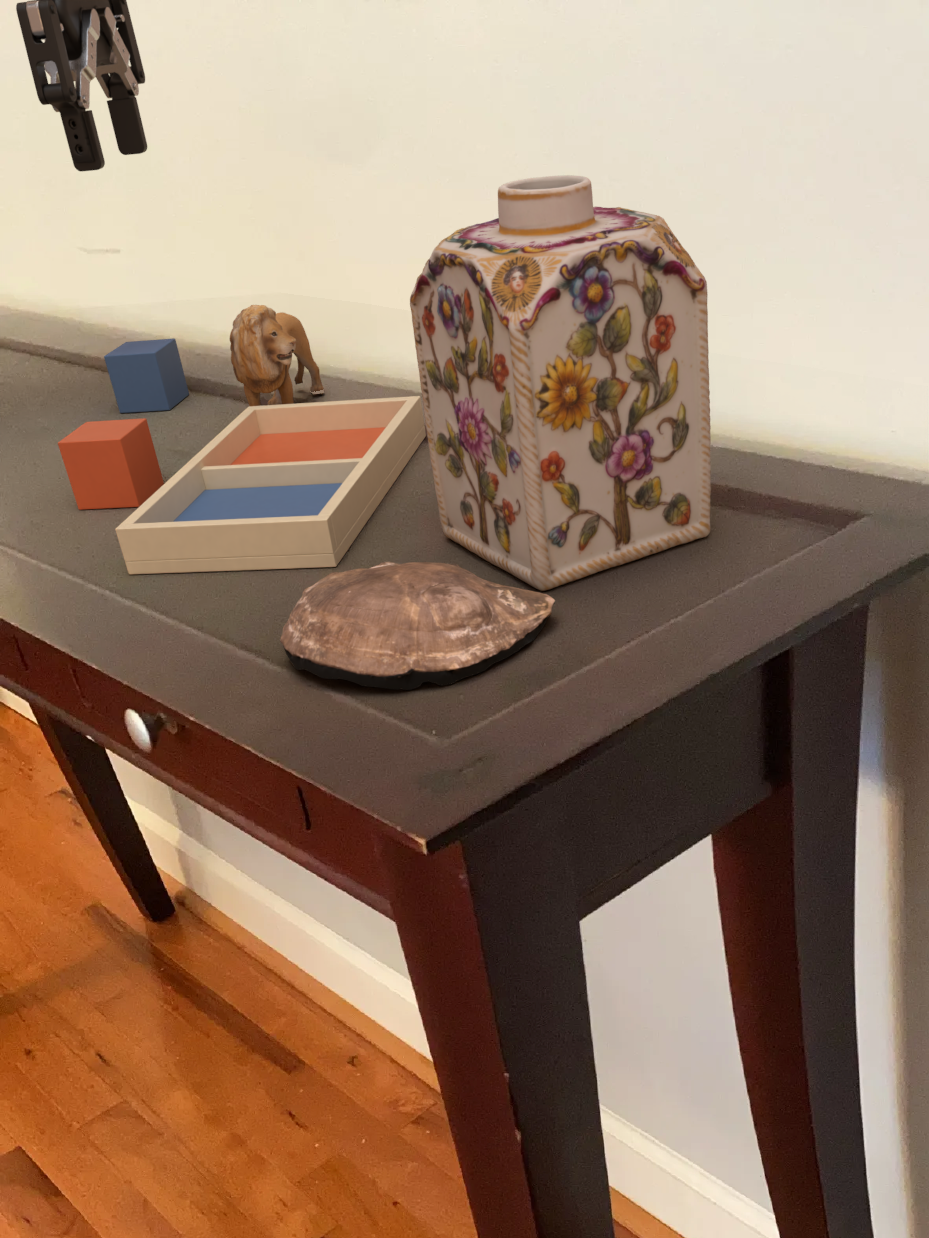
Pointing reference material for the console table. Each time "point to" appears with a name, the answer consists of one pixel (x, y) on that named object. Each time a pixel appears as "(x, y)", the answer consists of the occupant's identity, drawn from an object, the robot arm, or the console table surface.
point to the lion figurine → (270, 354)
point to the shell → (409, 624)
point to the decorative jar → (565, 384)
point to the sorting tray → (276, 488)
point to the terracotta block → (111, 464)
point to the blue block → (147, 375)
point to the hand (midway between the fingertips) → (113, 161)
